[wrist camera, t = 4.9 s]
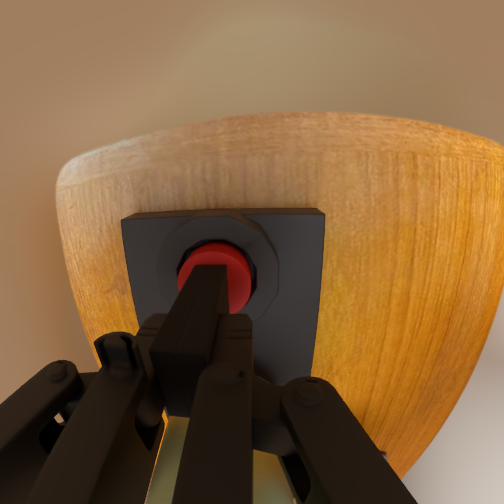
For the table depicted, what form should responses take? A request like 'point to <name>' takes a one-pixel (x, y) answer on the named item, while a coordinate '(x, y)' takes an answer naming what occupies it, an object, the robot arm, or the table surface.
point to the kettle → (164, 478)
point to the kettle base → (262, 274)
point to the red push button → (235, 270)
